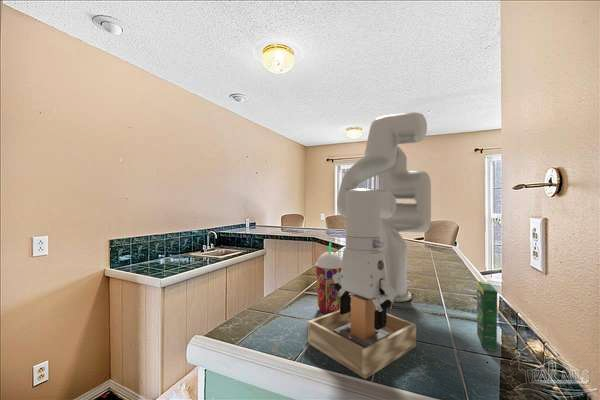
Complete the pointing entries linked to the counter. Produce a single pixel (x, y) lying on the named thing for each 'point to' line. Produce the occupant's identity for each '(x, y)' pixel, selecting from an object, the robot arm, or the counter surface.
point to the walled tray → (357, 352)
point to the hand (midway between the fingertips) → (361, 320)
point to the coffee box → (487, 315)
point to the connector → (362, 317)
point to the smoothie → (328, 281)
